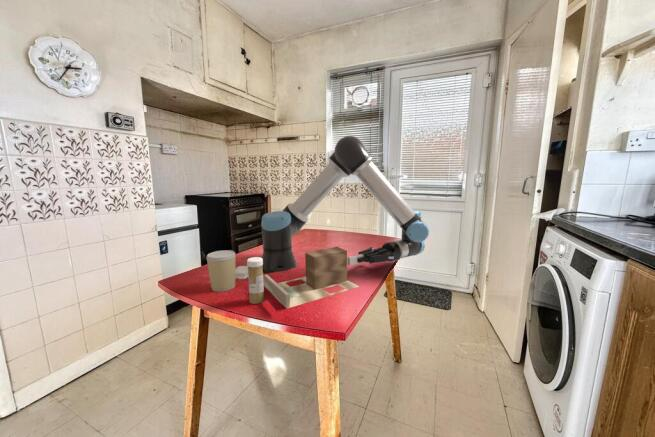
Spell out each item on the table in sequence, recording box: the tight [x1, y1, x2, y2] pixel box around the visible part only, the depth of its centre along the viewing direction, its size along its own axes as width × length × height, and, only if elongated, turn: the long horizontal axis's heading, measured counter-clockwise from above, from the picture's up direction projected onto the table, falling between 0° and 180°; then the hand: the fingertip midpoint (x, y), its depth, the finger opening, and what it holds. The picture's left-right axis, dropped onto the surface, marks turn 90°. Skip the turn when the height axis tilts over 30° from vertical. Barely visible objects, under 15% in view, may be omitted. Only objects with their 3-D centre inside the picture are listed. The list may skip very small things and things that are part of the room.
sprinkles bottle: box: [246, 256, 265, 305], centre depth 78 cm, size 5×5×13 cm
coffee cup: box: [205, 249, 237, 293], centre depth 89 cm, size 9×9×12 cm
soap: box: [235, 265, 249, 280], centre depth 101 cm, size 9×7×3 cm
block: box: [304, 246, 348, 290], centre depth 88 cm, size 13×6×11 cm, turn 123°
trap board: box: [263, 274, 360, 310], centre depth 85 cm, size 26×18×6 cm
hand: (348, 261), depth 92 cm, fingers closed
